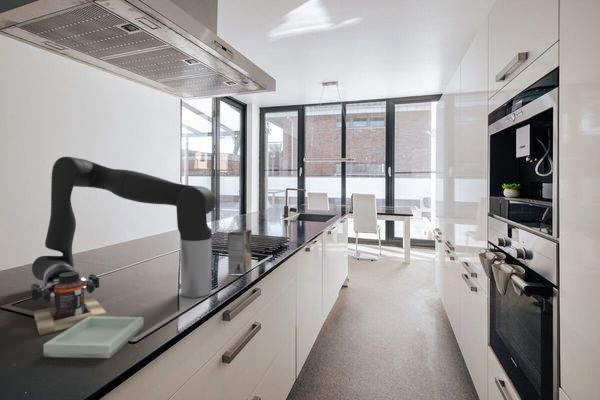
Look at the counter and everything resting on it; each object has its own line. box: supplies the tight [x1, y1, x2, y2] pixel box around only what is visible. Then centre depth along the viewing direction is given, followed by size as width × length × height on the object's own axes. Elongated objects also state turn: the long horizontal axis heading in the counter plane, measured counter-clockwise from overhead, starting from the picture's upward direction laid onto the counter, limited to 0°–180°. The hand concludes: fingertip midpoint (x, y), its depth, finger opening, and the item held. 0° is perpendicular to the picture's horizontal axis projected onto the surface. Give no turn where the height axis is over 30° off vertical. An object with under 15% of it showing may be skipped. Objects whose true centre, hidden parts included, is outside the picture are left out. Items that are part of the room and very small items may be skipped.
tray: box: [42, 315, 145, 359], centre depth 67 cm, size 13×13×2 cm
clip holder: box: [33, 297, 107, 336], centre depth 79 cm, size 13×13×2 cm
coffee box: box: [227, 229, 252, 276], centre depth 120 cm, size 9×6×16 cm
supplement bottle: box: [54, 271, 85, 321], centre depth 78 cm, size 6×6×11 cm
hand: (70, 293), depth 77 cm, fingers open, 8 cm apart
